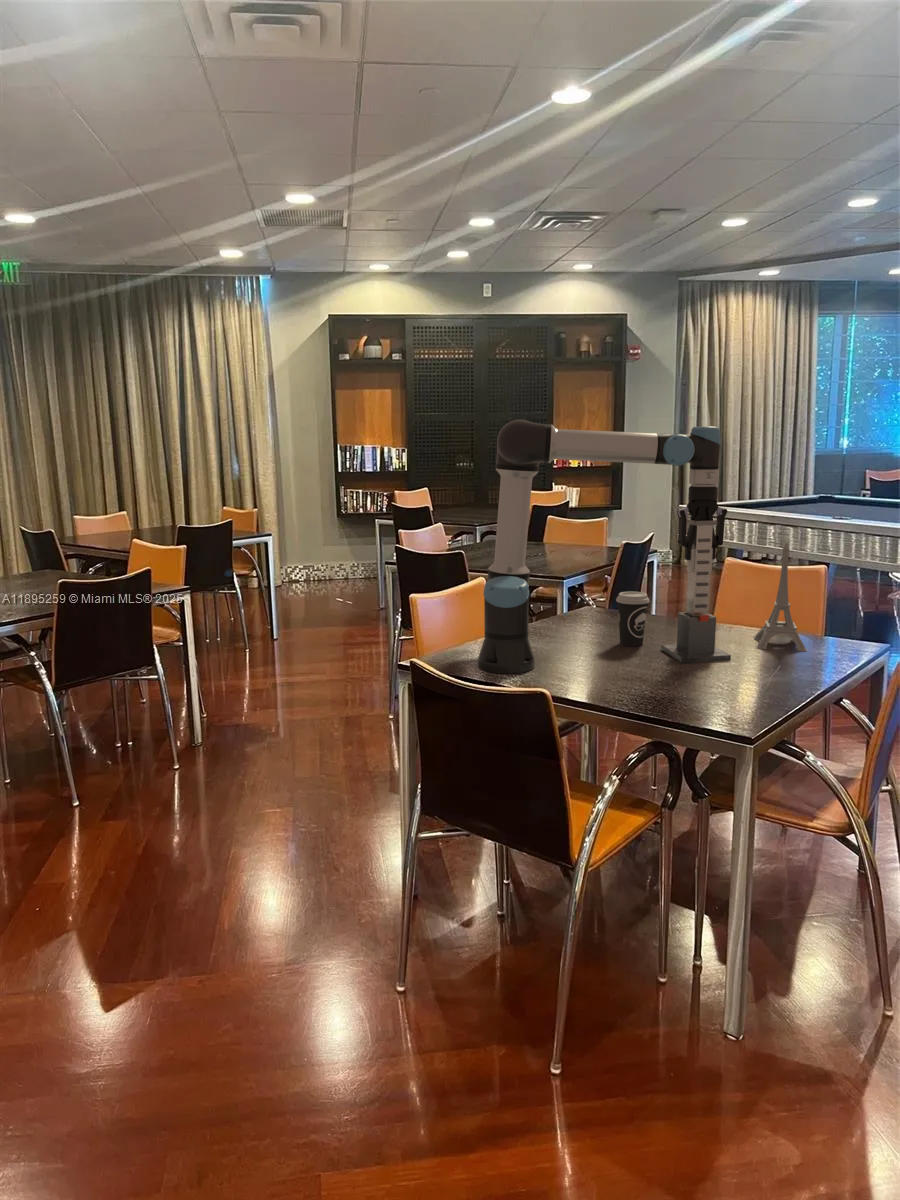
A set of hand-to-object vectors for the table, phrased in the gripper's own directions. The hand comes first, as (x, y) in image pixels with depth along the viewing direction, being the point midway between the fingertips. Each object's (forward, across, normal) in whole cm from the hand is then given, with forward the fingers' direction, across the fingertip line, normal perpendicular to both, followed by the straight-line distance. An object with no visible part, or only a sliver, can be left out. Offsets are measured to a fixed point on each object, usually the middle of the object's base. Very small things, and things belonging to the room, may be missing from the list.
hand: (699, 571), depth 223 cm
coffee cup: (+24, -13, +15) cm, 31 cm away
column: (+13, 0, 0) cm, 13 cm away
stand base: (+24, 0, 0) cm, 24 cm away
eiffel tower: (+24, +29, +7) cm, 38 cm away
